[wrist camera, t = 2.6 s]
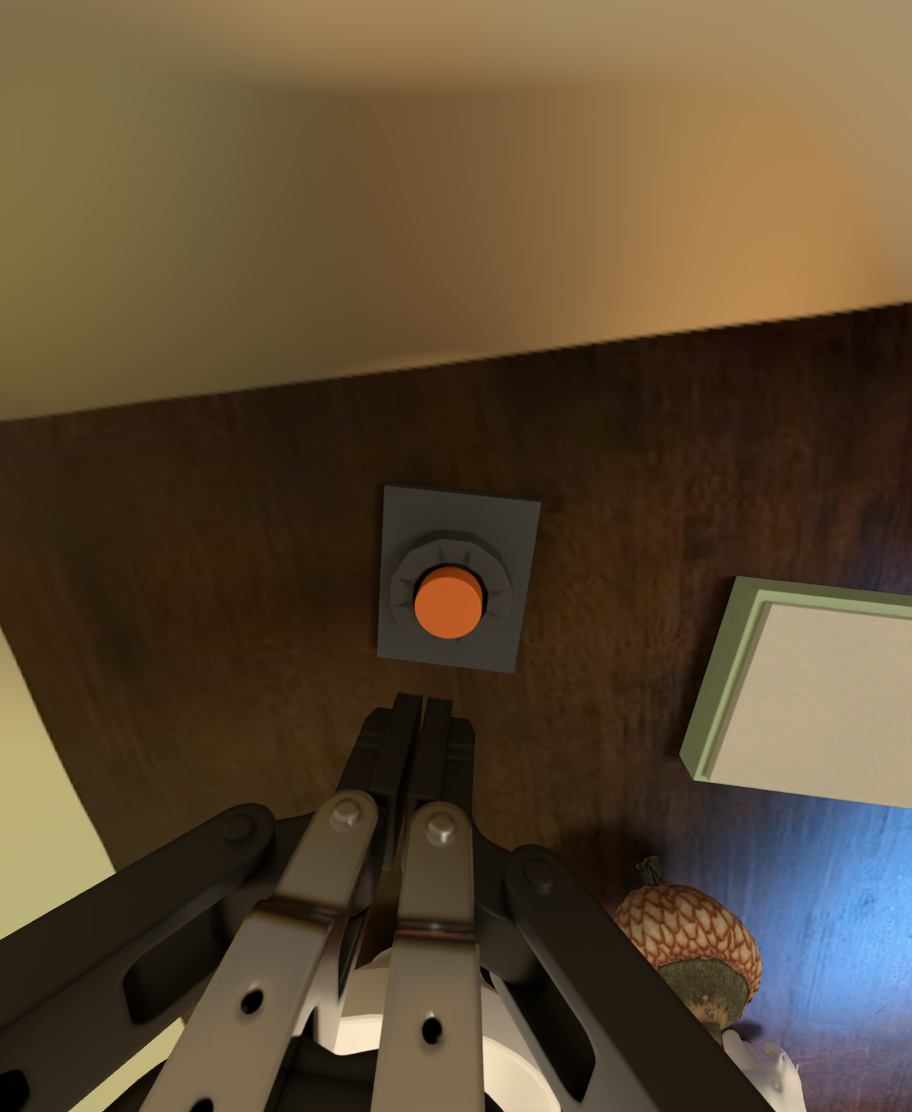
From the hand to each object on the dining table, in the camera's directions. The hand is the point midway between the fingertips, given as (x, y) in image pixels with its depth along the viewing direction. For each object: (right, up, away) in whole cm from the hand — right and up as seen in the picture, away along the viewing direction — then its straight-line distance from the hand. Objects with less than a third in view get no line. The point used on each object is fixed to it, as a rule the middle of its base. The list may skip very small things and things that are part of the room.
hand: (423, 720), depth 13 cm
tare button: (+1, +3, +9) cm, 9 cm away
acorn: (+14, -16, +17) cm, 27 cm away
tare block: (+1, +4, +11) cm, 12 cm away
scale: (+21, -3, +12) cm, 25 cm away
